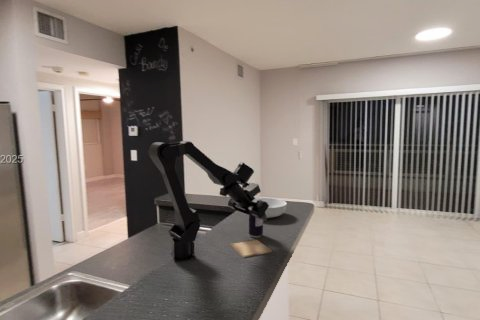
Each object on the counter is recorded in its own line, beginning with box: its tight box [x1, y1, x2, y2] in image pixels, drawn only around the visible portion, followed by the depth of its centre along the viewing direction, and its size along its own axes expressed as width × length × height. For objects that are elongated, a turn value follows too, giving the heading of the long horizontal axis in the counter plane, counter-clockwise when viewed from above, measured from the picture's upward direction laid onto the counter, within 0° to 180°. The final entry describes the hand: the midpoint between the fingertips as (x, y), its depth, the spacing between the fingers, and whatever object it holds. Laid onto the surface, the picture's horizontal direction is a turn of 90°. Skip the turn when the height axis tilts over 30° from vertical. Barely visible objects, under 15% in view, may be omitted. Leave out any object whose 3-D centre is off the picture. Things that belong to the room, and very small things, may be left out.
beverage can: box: [248, 208, 264, 238], centre depth 118 cm, size 6×6×12 cm
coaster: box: [230, 239, 273, 258], centre depth 105 cm, size 11×11×1 cm
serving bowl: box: [249, 197, 288, 219], centre depth 147 cm, size 21×21×7 cm
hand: (258, 216), depth 119 cm, fingers open, 9 cm apart
